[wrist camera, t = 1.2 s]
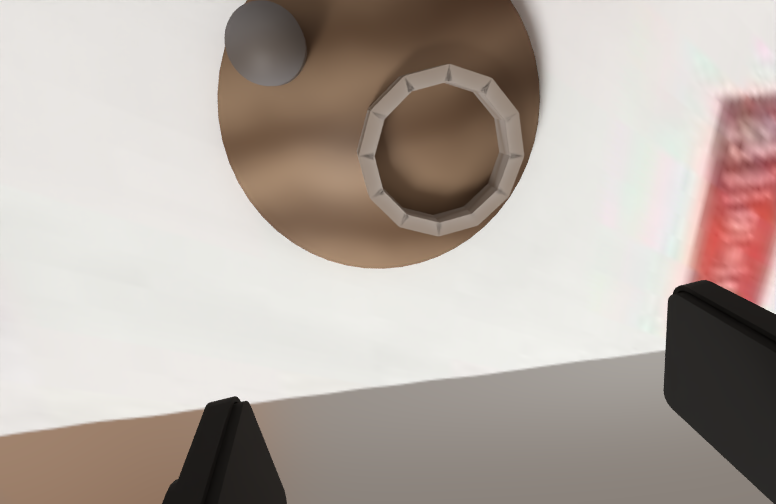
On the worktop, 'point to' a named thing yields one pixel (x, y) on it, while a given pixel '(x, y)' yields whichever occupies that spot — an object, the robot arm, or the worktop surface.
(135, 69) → the worktop surface
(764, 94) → the worktop surface
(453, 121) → the carrier plate
